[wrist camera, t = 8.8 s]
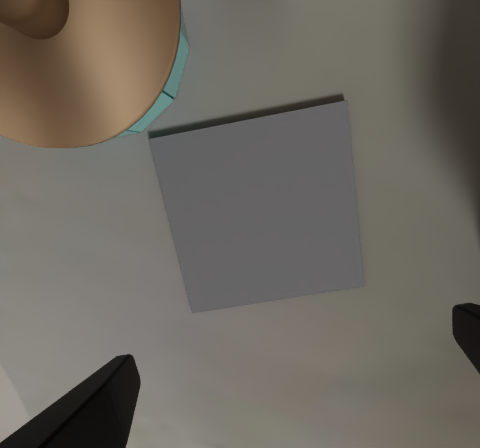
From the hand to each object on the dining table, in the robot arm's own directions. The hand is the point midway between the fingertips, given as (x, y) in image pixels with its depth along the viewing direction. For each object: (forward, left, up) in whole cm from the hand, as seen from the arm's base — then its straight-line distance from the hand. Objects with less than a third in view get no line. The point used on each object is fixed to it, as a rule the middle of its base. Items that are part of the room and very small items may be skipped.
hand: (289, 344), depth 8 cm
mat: (0, -1, -12) cm, 12 cm away
